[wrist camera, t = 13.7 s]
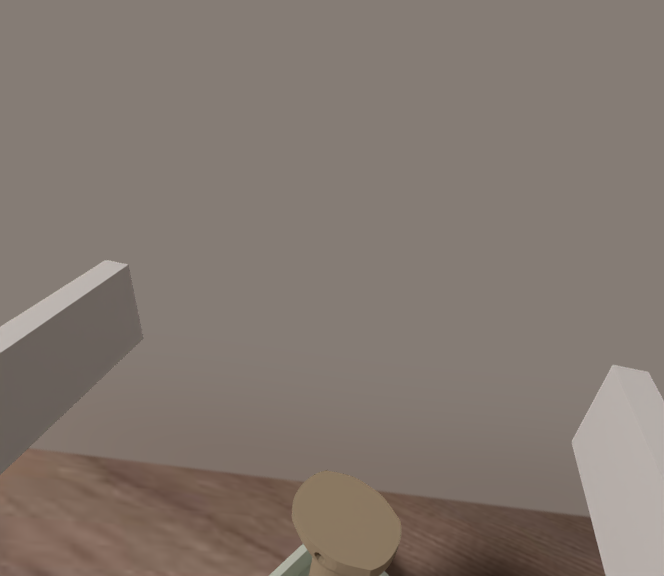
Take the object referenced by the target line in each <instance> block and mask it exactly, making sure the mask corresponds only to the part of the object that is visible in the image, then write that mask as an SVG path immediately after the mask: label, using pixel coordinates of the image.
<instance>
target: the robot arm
mask: <svg viewBox="0 0 664 576" xmlns="http://www.w3.org/2000/svg"><path fill="white" fill-rule="evenodd" d="M142 339H143V334H142V329H141V324H140V319H139V315H138V310H137V305H136V300H135V295H134V290H133V285H132V280H131V275H130V270H129V265H128V264H123V263H118V262H113V261H108V260H105V261H103V262H102V263H100V264H99V265H97V266H96V267H94V268H92V269H91V270H89V271H88V272H86V273H84V274H83V275H81V276H80V277H78V278H77V279H75V280H73V281H72V282H70V283H69V284H67V285H66V286H64V287H62V288H61V289H59V290H58V291H56V292H54V293H53V294H51V295H50V296H48V297H47V298H45V299H43V300H42V301H40V302H39V303H37V304H36V305H34V306H33V307H31V308H29V309H28V310H26V311H25V312H23V313H21V314H20V315H18V316H17V317H15V318H13V319H12V320H10V321H9V322H7V323H6V324H4V325H2V326H1V327H0V475H1V474H2V473H3V472H4V471H5V470H6V469H7V468H8V467H9V466H10V465H11V464H12V463H13V462H14V461H15V460H16V459H17V458H18V457H19V456H21V455H22V454H23V453H24V452H25V451H26V450H27V449H28V448H29V447H30V446H31V445H32V444H33V443H34V442H35V441H36V440H37V439H38V438H39V437H40V436H42V435H43V434H44V433H45V432H46V431H47V430H48V429H49V428H50V427H51V426H52V425H53V424H54V423H55V422H56V421H57V420H58V419H59V418H60V417H61V416H63V415H64V413H66V412H67V411H68V410H69V409H70V408H71V407H72V406H73V405H74V404H75V403H76V402H77V401H78V400H79V399H80V398H81V397H83V396H84V395H85V394H86V393H87V392H88V391H89V390H90V389H91V388H92V387H93V386H94V385H95V384H96V383H97V382H98V381H99V380H100V379H101V378H103V377H104V376H105V375H106V374H107V373H108V372H109V371H110V370H111V369H112V368H113V367H114V366H115V365H116V364H117V363H118V362H119V361H120V360H121V359H123V357H125V356H126V355H127V354H128V353H129V352H130V351H131V350H132V349H133V348H134V347H135V346H136V345H137V344H138V343H139V342H140V341H141V340H142ZM572 446H573V450H574V454H575V457H576V461H577V465H578V469H579V473H580V476H581V481H582V485H583V489H584V493H585V497H586V500H587V504H588V508H589V512H590V516H591V520H592V524H593V528H594V532H595V536H596V540H597V544H598V548H599V551H600V555H601V559H602V563H603V567H604V571H605V575H606V576H664V401H663V399H662V397H661V395H660V393H659V391H658V389H657V387H656V386H655V384H654V382H653V380H652V378H651V376H650V374H649V372H646V371H641V370H636V369H631V368H627V367H622V366H617V365H612V367H611V369H610V371H609V373H608V375H607V377H606V378H605V380H604V382H603V384H602V386H601V388H600V389H599V391H598V393H597V395H596V397H595V399H594V401H593V403H592V404H591V406H590V408H589V410H588V412H587V414H586V416H585V418H584V419H583V421H582V423H581V425H580V427H579V429H578V431H577V432H576V435H575V436H574V438H573V440H572Z"/></svg>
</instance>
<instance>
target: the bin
mask: <svg viewBox="0 0 664 576" xmlns="http://www.w3.org/2000/svg"><path fill="white" fill-rule="evenodd" d="M311 562H312V556H311V554H310V553H309V551H308V550H307V549H306V547H305V546H304V544H302V545H301V546H300V547H299V548H298V549H297V550H296V551H295V552H294V553H293V554H292V555H290V556H289V557H288V558H287V559H286V560H285V561H284V562H283V563H282V564H281V565H280V566H279V567H278V568H277V569H276V570H274V571H273V572H272V573H271V574H270V575H269V576H309V572H310V567H311ZM379 576H389V575H388V574H387V573H386V572H385V571H384V572H383V573H382V574H381V575H379Z"/></svg>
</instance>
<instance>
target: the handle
mask: <svg viewBox="0 0 664 576" xmlns="http://www.w3.org/2000/svg"><path fill="white" fill-rule="evenodd" d="M292 520H293V523H294V525H295V528H296V530H297V532H298V534H299V536H300V538H301V540H302V542H303V544H304V546H305V547H306V549H307V550H308V551H309V553H310V554H311V556H312V562H311V567H310V572H309V576H379V575H381V574H382V573H383V572H384V571H385V570H386V569H387V568H388V566H389V565H390V564H391V562H392V561H393V558H394V556H395V554H396V552H397V549H398V545H399V542H400V538H401V522H400V520H399V519H398V517H397V516H396V514H395V512H394V511H393V509H392V508H391V507H390V505H389V504H388V502H387V501H386V500H385V499H384V498H383V496H382V495H380V494H379V493H378V492H377V491H376V490H374V489H373V488H371V487H370V486H368V485H366V484H365V483H364V482H362V481H360V480H359V479H357V478H355V477H352V476H349V475H346V474H341V473H336V472H331V471H322V472H319V473H317V474H314V475H313V476H311V477H310V478H309V479H307V480H306V481H305V482H304V483H303V484H302V486H301V487H300V488H299V490H298V491H297V493H296V495H295V497H294V501H293V506H292Z"/></svg>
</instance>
